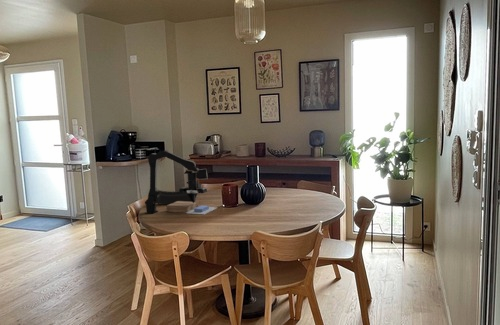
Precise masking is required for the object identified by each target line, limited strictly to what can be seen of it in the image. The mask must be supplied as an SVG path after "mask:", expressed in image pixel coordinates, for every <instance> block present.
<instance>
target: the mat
mask: <svg viewBox="0 0 500 325" xmlns="http://www.w3.org/2000/svg"><path fill="white" fill-rule="evenodd" d="M216 209H218V207H216V206H214V207H213V206H209V209H207V210H205V211H203V212H194V209H193V210H191V211H189V212H187V213H186V214H188V215H189V214H193V215H206V214H208V213H211V212H212V211H214V210H216Z"/></svg>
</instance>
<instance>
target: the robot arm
mask: <svg viewBox="0 0 500 325" xmlns="http://www.w3.org/2000/svg"><path fill="white" fill-rule="evenodd" d="M162 158H167V159H168V160H169V159H170V160H171V161H173V162H176V163H178V164H179V165H181V166H183V167H184V168H185V169H186V170H185V171H184V174H187V176H186V177H187V181H186V184H187V186H182V187H180V188H179V189H178V191H179V193H183V192H184V191H187V193H186V194H188V196H189V197H190V199H191V200H192V202H193V203H195V202H196V199H197V196H198V195H199V194H205V193H207V192H208V189H207V187H202V183H199V181H198V180H208V170H207V168H201V169H200V168H198V166H197V165H196V164H197V163H196V161H194V160H192V159H187V158H184V157H181V156H178V154H175V153H172V152H170V151H169V150H167V149H166V150H163V151H160V152H158V153H156V152H154V153H150V154H149V155H148V156H147V161H148V164H149V191H148V196H147V199H145V201H144V204H145V208H146V211H145V212H144V214H155V213H157V212H159V210H157V203H155V202H156V200H157V199H158V197H159V190H160V189H158V187H157V175H158V174H157V173H158V172H157V170H158V169H157V168H158V164H159V160H160V159H162ZM197 179H198V180H197Z"/></svg>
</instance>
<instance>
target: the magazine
mask: <svg viewBox="0 0 500 325" xmlns="http://www.w3.org/2000/svg"><path fill="white" fill-rule="evenodd" d="M158 190H159V197H158V199H157V200H156V202H155V203H156V204H157V205H169V204H172V203H174V202H177V201H189V202H192V200H191V199H190V197H189V196H188V194H186V193H187V191H184V192H183V193H179V190H178V191H177V190H176V191H169V190H167V191H166V190H160V189H158Z"/></svg>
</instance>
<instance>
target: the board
mask: <svg viewBox="0 0 500 325" xmlns="http://www.w3.org/2000/svg"><path fill="white" fill-rule="evenodd" d="M196 207H199V202H198V201H195V203H193V202H189V201H177V202H174V203H172V204H166V212H171V213H185V214H188V213H187V212H189V211H191V210H193V209H194V208H196Z"/></svg>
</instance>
